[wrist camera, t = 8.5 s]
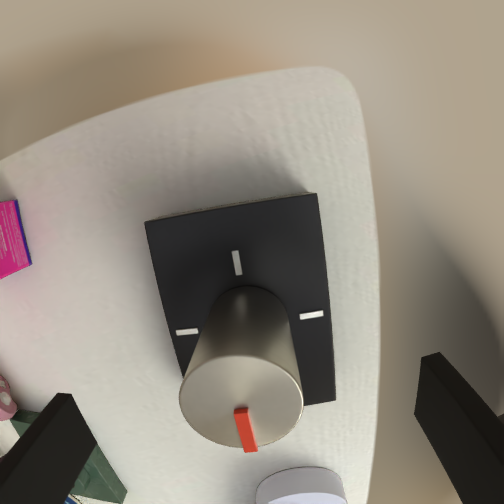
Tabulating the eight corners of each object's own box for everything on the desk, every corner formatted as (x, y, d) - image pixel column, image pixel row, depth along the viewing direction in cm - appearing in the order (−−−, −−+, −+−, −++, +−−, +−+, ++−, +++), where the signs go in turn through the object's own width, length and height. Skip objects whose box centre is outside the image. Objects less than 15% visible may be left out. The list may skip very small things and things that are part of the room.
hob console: (158, 216, 21) (142, 222, 18) (309, 191, 20) (317, 192, 17) (201, 393, 24) (195, 418, 21) (328, 377, 23) (336, 402, 20)
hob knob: (200, 292, 19) (161, 366, 11) (282, 279, 19) (297, 349, 10) (217, 362, 20) (195, 455, 12) (293, 352, 19) (309, 445, 11)
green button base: (18, 408, 26) (0, 427, 22) (83, 418, 25) (66, 443, 21) (63, 479, 28) (51, 498, 24) (127, 491, 27) (118, 515, 23)
